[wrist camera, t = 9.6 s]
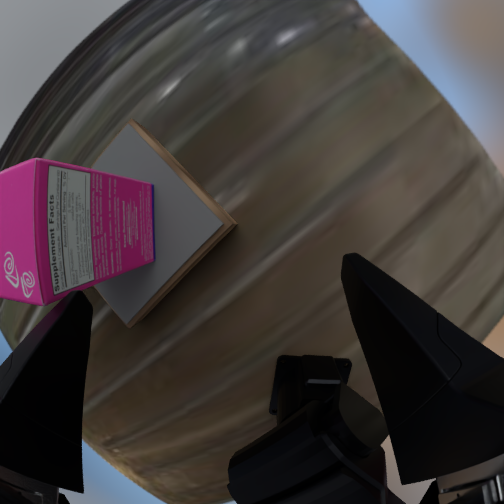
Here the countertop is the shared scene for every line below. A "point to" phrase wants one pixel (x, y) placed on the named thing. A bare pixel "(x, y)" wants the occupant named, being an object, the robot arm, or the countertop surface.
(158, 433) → the countertop surface
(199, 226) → the walnut base
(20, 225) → the supplement box
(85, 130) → the countertop surface
